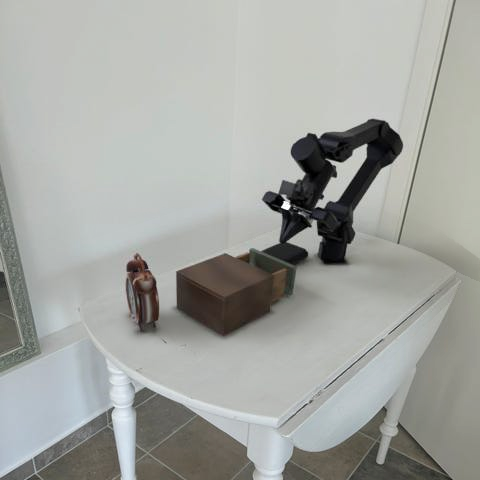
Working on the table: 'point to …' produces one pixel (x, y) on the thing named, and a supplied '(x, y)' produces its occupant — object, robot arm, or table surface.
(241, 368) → the table surface
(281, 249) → the carrying case
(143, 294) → the alarm clock
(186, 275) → the cabinet
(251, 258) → the drawer
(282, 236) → the robot arm
